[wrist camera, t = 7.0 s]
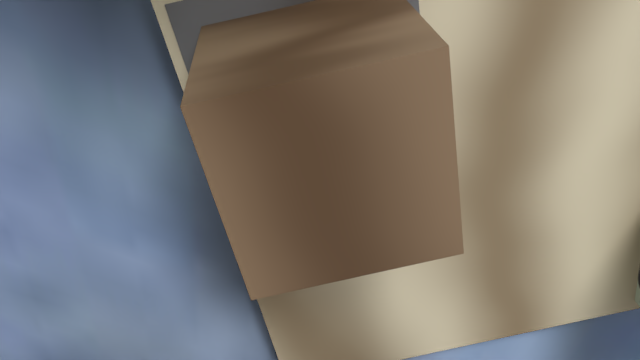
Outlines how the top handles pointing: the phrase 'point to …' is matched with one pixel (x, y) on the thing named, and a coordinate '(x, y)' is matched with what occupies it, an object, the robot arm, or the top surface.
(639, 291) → the sage block
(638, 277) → the robot arm
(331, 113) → the walnut block
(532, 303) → the board
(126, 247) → the top surface
